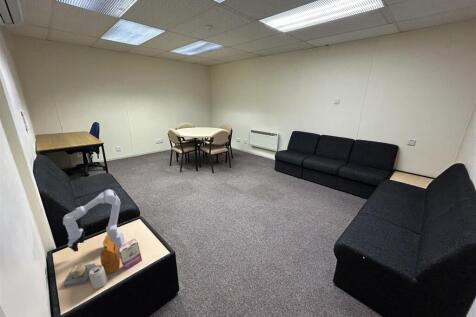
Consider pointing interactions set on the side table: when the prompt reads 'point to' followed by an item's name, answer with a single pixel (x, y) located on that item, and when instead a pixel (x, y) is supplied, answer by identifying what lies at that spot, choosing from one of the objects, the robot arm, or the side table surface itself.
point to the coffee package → (110, 256)
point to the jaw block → (79, 271)
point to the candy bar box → (129, 254)
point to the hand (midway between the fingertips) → (79, 246)
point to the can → (98, 276)
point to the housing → (80, 280)
